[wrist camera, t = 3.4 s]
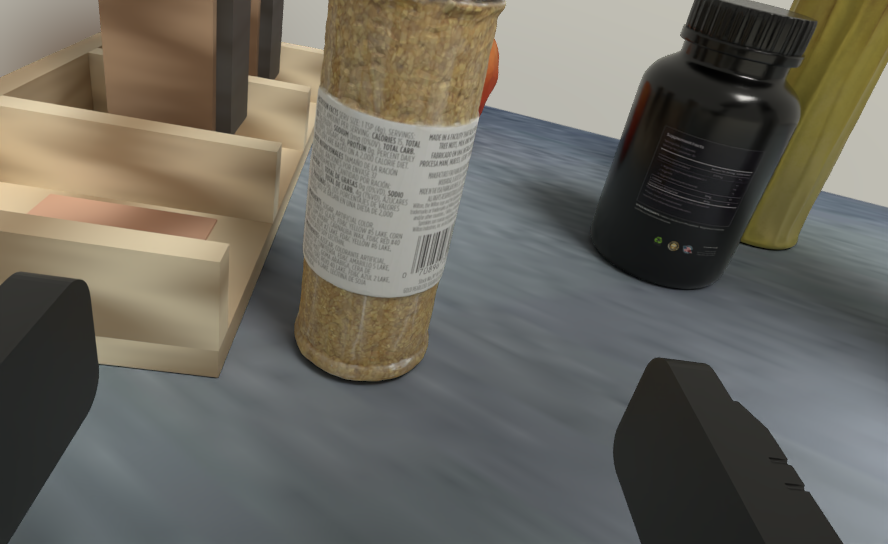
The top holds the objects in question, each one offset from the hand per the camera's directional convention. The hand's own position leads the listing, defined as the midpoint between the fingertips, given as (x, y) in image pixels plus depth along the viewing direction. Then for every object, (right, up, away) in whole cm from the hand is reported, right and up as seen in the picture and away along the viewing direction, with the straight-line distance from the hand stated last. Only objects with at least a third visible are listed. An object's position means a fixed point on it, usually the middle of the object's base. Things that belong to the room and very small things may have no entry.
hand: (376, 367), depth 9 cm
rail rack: (-11, +6, +19) cm, 23 cm away
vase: (+19, +4, +29) cm, 35 cm away
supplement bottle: (+11, +2, +22) cm, 25 cm away
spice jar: (-2, -1, +12) cm, 12 cm away
